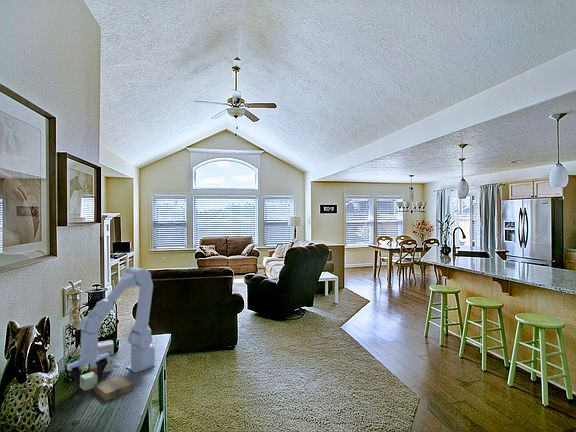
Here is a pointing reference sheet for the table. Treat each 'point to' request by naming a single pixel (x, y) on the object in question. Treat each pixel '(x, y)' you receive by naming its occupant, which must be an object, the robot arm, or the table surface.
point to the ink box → (103, 348)
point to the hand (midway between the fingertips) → (88, 382)
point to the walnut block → (113, 387)
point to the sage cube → (88, 381)
